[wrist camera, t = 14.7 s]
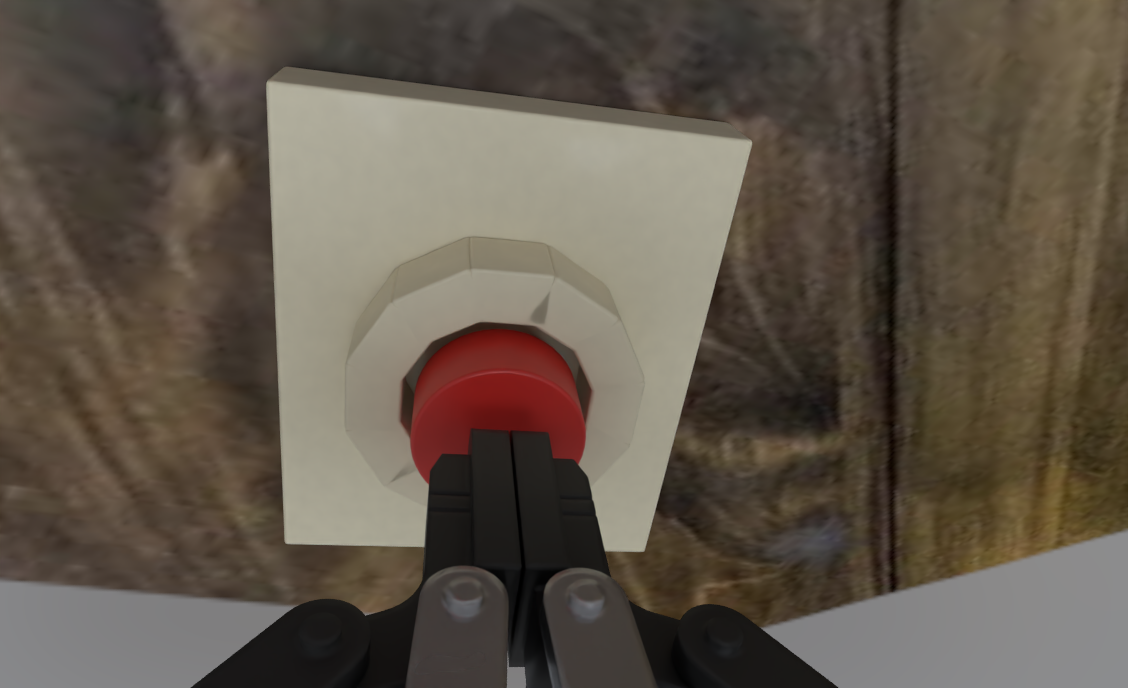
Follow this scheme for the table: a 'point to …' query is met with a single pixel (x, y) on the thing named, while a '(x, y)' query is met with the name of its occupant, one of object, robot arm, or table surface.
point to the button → (494, 396)
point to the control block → (481, 279)
